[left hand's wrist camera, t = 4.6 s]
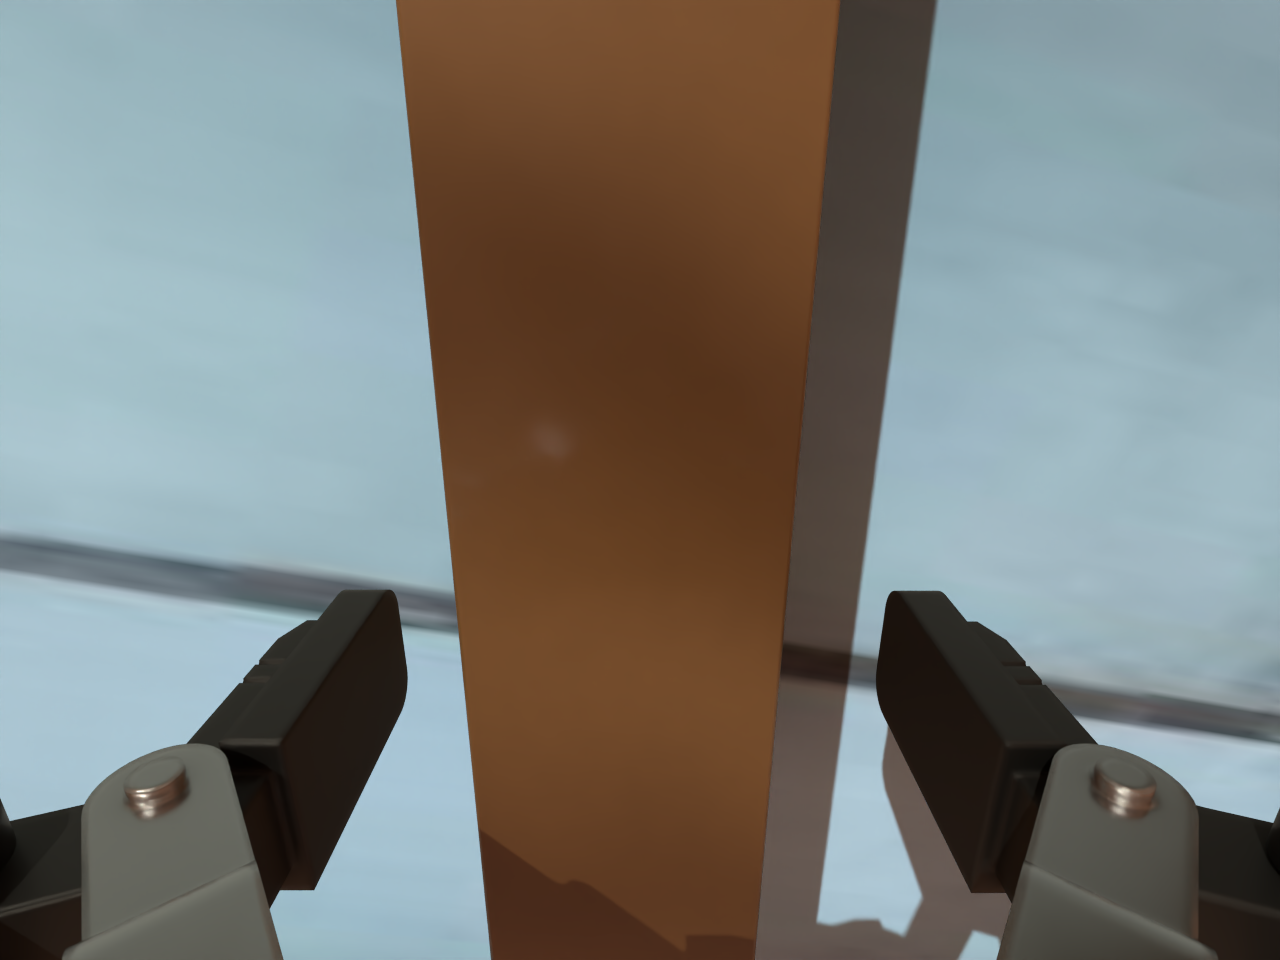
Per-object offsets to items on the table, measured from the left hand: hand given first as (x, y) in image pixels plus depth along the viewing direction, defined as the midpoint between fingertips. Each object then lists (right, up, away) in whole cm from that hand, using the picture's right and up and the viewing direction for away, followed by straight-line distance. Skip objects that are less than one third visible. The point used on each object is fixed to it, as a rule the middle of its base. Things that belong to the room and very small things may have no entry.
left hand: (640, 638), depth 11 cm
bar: (0, +34, -7) cm, 35 cm away
